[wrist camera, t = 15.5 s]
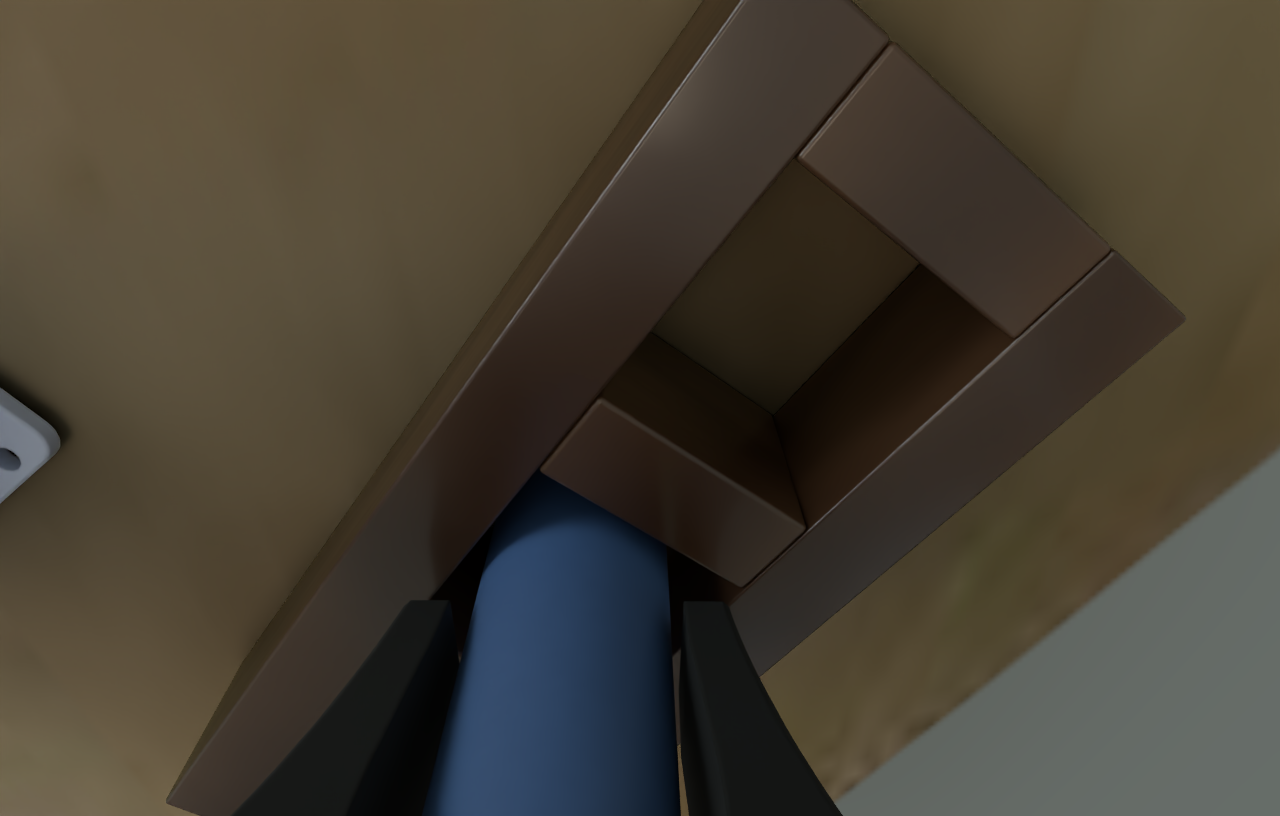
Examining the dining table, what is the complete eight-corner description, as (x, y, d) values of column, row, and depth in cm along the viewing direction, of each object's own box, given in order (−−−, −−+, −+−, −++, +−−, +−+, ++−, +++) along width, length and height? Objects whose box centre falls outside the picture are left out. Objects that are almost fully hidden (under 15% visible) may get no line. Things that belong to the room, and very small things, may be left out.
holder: (241, 664, 18) (163, 804, 15) (742, -57, 11) (785, -63, 8) (499, 774, 20) (476, 915, 17) (1061, 236, 13) (1188, 319, 10)
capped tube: (570, 610, 16) (511, 1202, 9) (444, 497, 15) (230, 1093, 7) (718, 525, 15) (804, 1119, 7) (597, 392, 14) (547, 966, 6)
